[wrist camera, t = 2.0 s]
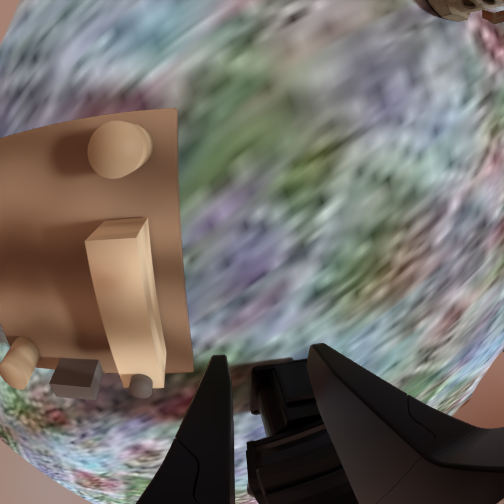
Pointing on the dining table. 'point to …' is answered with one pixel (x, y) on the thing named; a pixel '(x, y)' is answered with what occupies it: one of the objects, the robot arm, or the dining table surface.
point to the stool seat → (73, 241)
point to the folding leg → (129, 302)
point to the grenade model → (467, 9)
